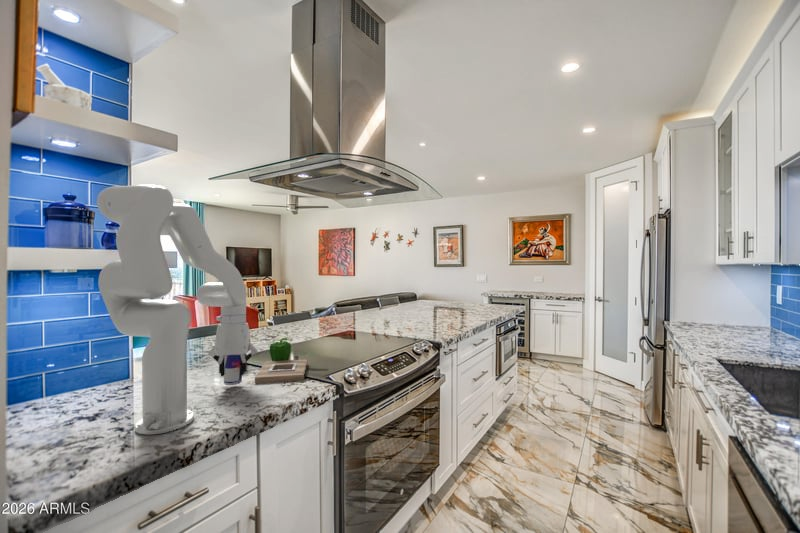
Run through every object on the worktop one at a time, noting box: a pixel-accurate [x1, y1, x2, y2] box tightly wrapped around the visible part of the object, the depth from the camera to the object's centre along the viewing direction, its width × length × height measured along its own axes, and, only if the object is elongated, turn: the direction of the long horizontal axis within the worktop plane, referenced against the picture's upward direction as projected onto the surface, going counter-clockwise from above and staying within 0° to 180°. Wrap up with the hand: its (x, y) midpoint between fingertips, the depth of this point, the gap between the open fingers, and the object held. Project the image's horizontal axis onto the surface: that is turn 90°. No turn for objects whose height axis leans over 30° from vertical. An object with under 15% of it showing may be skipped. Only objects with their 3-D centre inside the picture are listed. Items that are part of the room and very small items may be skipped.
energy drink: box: [223, 355, 243, 386], centre depth 118 cm, size 5×5×12 cm
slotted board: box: [254, 359, 308, 384], centre depth 133 cm, size 20×16×2 cm
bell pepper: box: [269, 337, 292, 361], centre depth 147 cm, size 8×8×10 cm
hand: (233, 374), depth 118 cm, fingers closed on energy drink, 5 cm apart
